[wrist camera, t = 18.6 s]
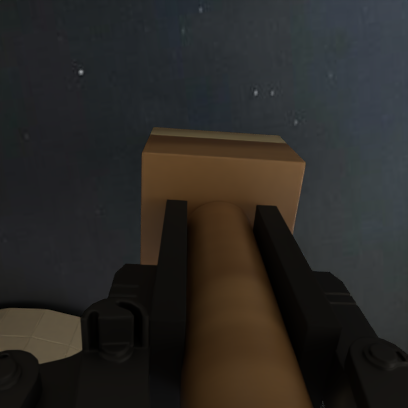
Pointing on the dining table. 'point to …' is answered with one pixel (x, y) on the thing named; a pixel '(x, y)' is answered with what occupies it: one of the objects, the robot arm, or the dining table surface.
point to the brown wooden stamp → (226, 262)
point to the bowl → (40, 333)
